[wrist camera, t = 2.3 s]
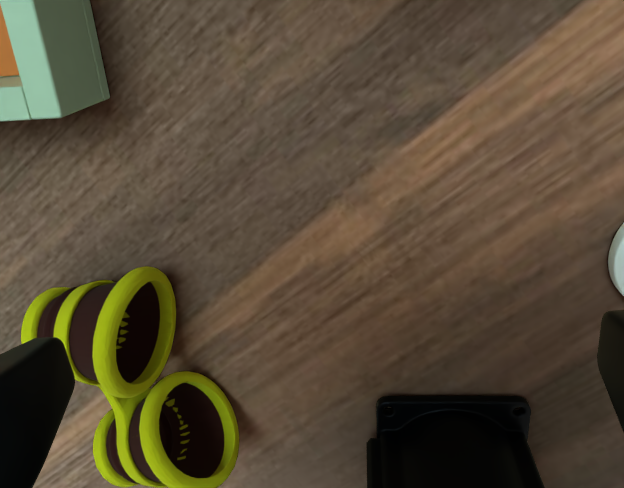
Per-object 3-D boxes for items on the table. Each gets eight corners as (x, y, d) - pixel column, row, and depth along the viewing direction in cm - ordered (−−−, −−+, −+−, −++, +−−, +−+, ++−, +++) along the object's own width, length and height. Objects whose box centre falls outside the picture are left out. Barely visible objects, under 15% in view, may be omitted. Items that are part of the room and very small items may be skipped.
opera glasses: (68, 264, 24) (-22, 333, 19) (168, 242, 22) (92, 313, 17) (164, 432, 27) (105, 521, 23) (256, 426, 25) (211, 522, 21)
